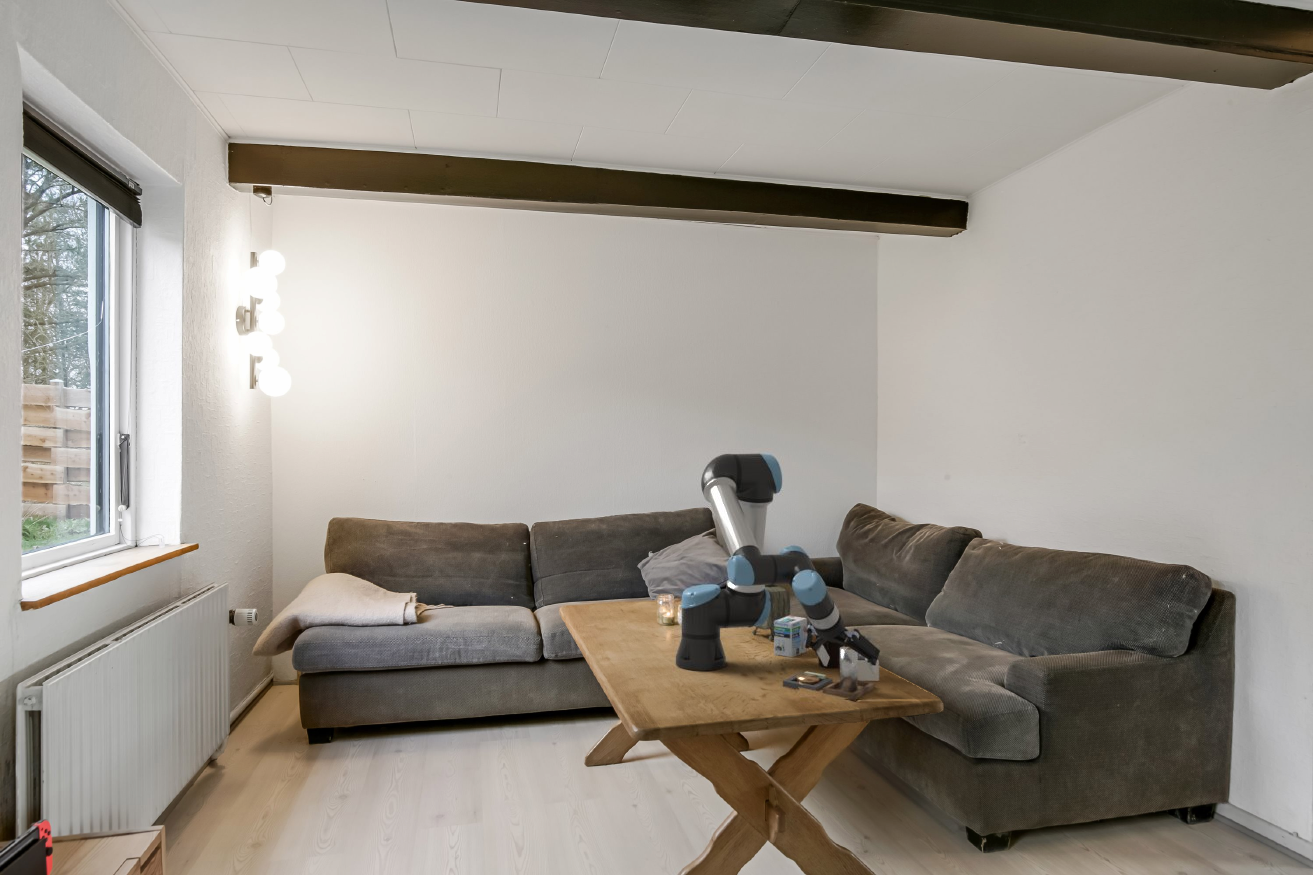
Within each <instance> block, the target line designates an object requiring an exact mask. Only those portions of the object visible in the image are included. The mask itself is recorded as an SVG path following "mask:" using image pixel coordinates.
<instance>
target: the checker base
mask: <svg viewBox="0 0 1313 875" xmlns="http://www.w3.org/2000/svg"><path fill="white" fill-rule="evenodd" d="M799 674H814V675H817V676H819V683H817V684H815V685H810V684H805V683H800V682H797V675H799ZM833 681H834V680H833V678H828V677H827V675H826V674H824V673H823V674H821V673H816V672H811V671H805V672H804V673H803V672H802V673H801V672H798V673H797V674H794V675H792V676H790V677H788V678H786V679H783V680H782V687H786V688H790V689H795V690H796V689H797V690H800V688H801V689H806V690H811V691H815V692H816V691H819V690H821V689H823V688H824V687H826V686H828V685H830V684H832V683H834V682H833Z"/></svg>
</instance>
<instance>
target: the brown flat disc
mask: <svg viewBox="0 0 1313 875" xmlns="http://www.w3.org/2000/svg"><path fill="white" fill-rule="evenodd" d="M798 674H799V673H798ZM796 675H797V674H796ZM797 682H800V683H805V684H810V685H815V684H817V683H819V676H817V675H814V674H804V673H803V674H799V675H797Z"/></svg>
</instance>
